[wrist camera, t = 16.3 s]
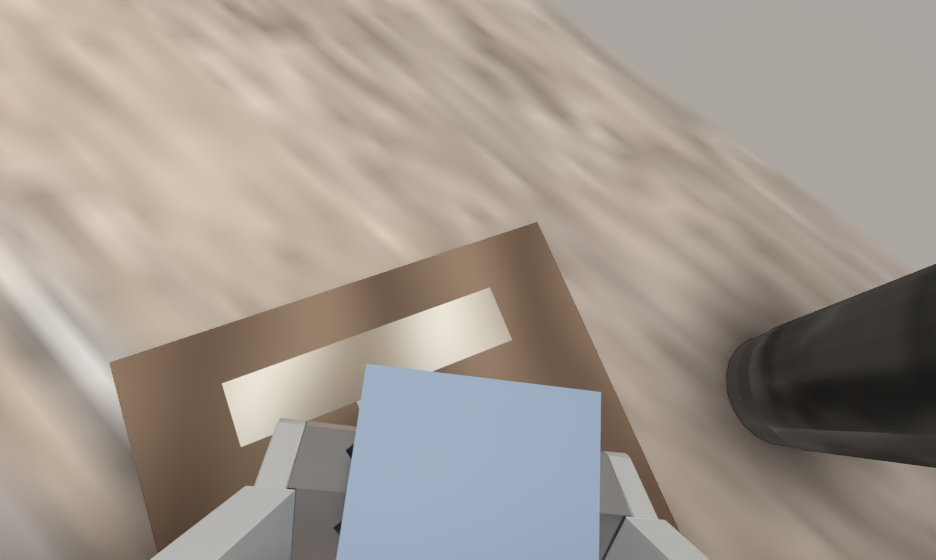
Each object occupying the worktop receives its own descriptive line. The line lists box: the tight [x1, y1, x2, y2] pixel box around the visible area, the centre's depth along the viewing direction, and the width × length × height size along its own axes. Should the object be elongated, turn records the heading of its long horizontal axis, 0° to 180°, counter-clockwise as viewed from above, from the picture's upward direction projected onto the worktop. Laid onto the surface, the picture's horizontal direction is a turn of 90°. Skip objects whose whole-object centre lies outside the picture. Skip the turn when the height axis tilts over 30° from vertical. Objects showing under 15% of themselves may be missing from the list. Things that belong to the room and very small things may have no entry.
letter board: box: [110, 222, 680, 560], centre depth 18 cm, size 16×14×1 cm
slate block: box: [336, 364, 601, 560], centre depth 12 cm, size 4×4×8 cm
